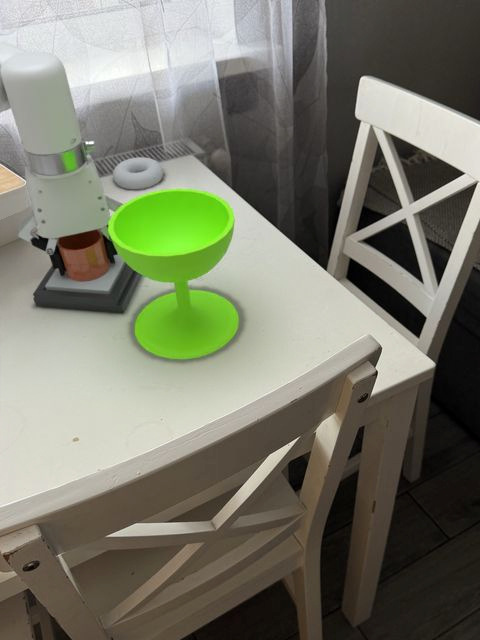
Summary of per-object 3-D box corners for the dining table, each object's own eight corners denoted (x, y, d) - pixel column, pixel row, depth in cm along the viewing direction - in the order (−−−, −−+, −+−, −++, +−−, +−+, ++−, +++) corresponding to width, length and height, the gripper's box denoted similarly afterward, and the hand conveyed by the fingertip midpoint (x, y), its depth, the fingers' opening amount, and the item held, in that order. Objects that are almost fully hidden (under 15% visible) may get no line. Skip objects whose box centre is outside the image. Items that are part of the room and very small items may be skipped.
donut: (126, 168, 125) (106, 190, 118) (123, 152, 122) (102, 174, 115) (171, 172, 123) (153, 195, 116) (169, 156, 120) (151, 179, 113)
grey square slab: (47, 294, 90) (44, 285, 89) (72, 256, 97) (69, 248, 96) (110, 298, 89) (108, 290, 88) (130, 260, 96) (129, 252, 95)
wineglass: (172, 281, 96) (156, 179, 83) (260, 309, 90) (256, 204, 78) (110, 342, 86) (81, 236, 73) (205, 378, 80) (190, 270, 68)
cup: (58, 280, 90) (48, 249, 86) (75, 254, 95) (66, 224, 91) (101, 283, 89) (93, 252, 86) (115, 257, 94) (108, 227, 90)
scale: (35, 311, 91) (29, 293, 89) (67, 262, 100) (62, 245, 98) (123, 318, 90) (119, 300, 87) (147, 267, 99) (144, 250, 96)
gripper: (115, 133, 84) (136, 239, 97) (-14, 156, 80) (26, 265, 92) (126, 155, 79) (147, 264, 91) (-10, 181, 75) (31, 292, 87)
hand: (86, 264), depth 92 cm, fingers closed on cup, 7 cm apart
